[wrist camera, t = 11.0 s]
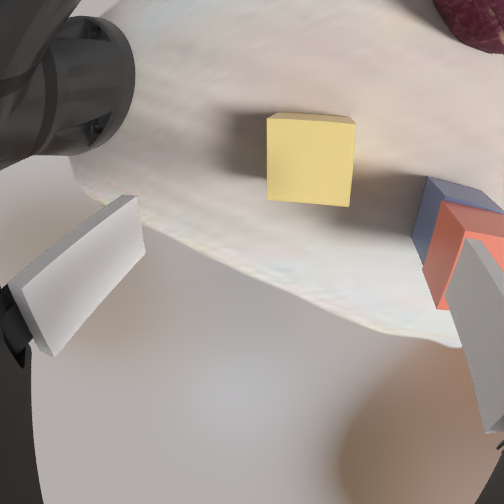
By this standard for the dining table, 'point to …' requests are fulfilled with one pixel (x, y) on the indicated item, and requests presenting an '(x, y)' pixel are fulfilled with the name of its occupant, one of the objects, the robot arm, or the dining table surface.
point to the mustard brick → (310, 158)
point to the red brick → (459, 243)
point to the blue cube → (431, 205)
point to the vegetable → (475, 22)
